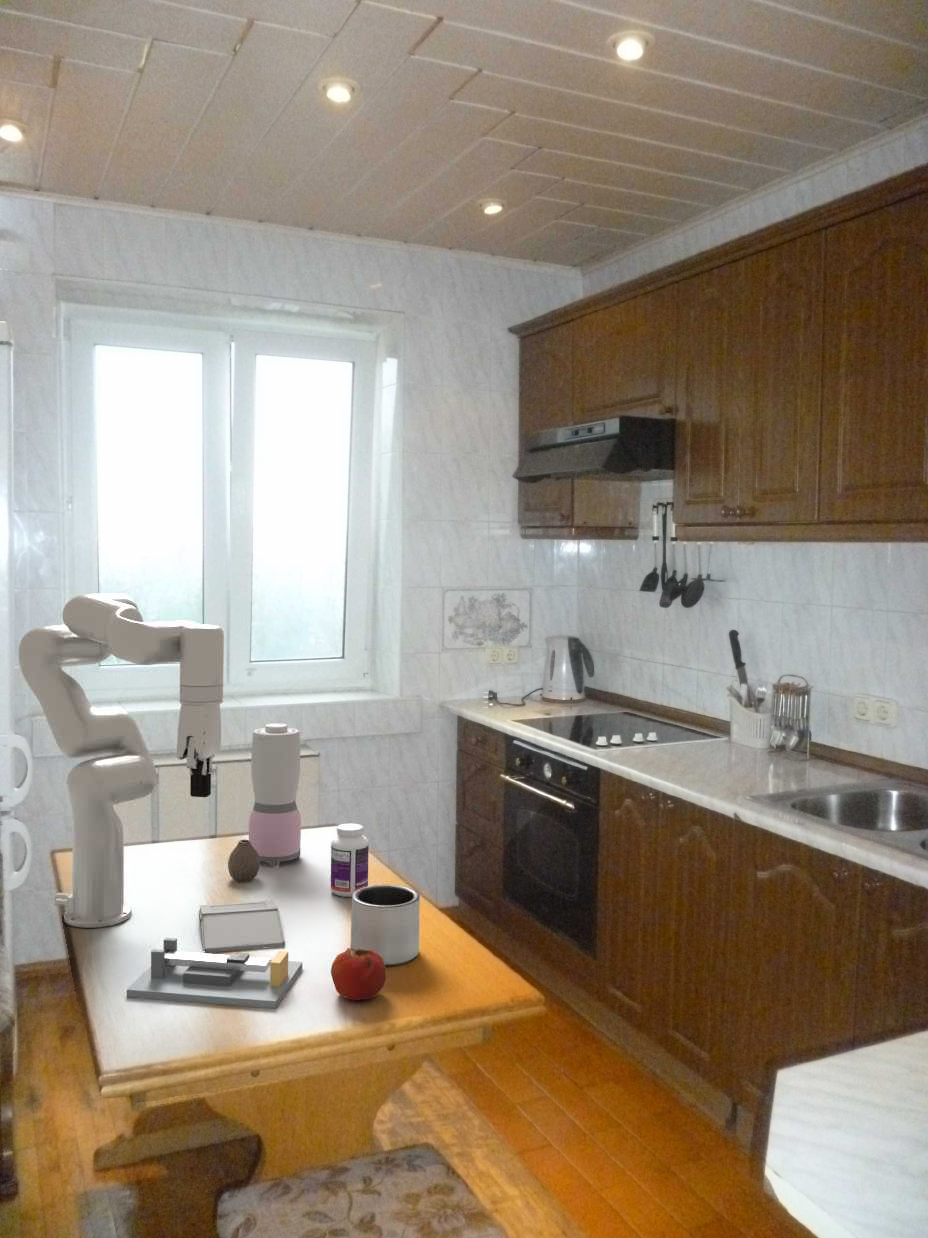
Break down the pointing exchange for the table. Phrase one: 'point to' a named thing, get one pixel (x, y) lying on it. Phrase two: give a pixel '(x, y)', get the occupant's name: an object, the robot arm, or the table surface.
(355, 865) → the pill bottle
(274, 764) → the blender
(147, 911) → the table surface
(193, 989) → the clamp base
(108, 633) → the robot arm
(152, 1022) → the table surface
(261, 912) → the gadget
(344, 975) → the tomato
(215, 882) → the table surface
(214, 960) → the clamp bar
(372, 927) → the planter
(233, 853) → the vase
